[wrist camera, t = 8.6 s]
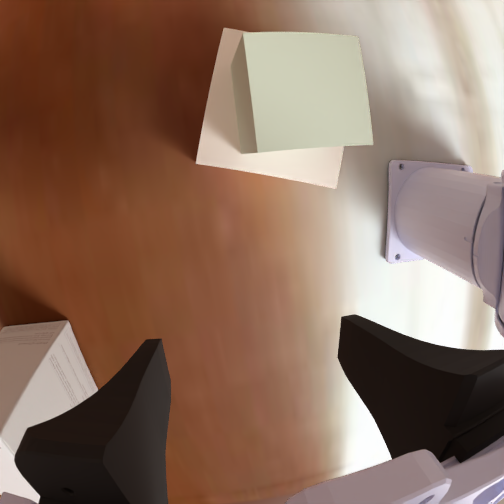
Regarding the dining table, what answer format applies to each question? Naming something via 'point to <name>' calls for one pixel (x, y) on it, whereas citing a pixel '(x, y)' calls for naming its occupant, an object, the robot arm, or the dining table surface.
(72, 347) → the supplement box
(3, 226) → the dining table surface
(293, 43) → the sage block
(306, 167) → the cream block
